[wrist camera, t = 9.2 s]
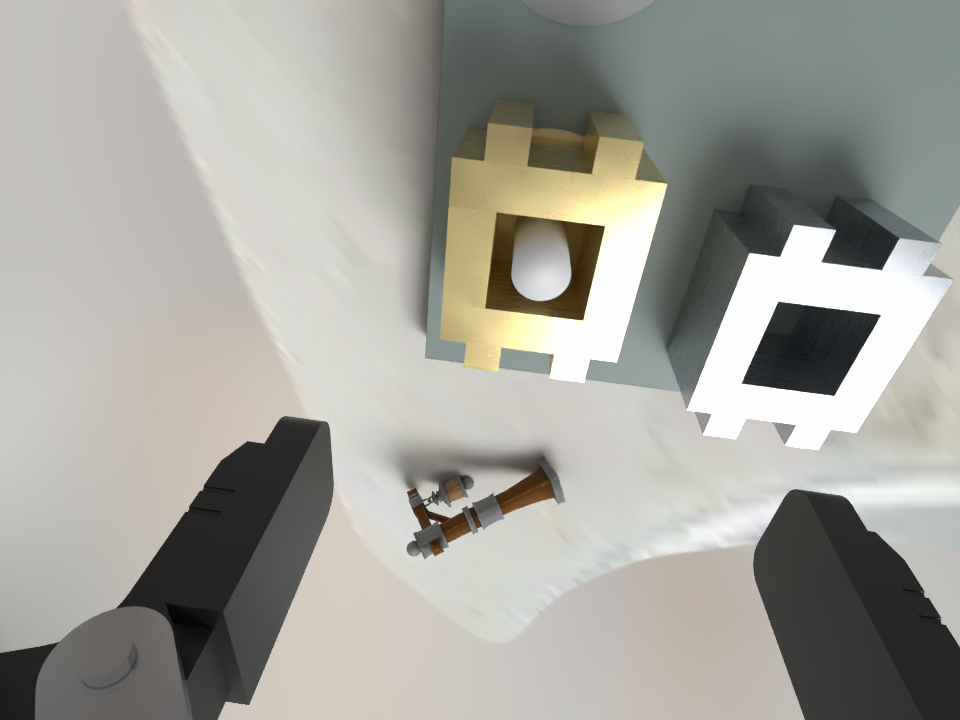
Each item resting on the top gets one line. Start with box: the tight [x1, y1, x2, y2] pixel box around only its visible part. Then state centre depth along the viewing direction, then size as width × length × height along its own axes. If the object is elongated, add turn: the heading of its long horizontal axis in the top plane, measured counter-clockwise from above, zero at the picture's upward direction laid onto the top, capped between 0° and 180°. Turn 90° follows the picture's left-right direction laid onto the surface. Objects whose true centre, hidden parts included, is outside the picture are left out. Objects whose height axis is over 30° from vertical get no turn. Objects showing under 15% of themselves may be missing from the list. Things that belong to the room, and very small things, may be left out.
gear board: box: [425, 0, 960, 392], centre depth 17 cm, size 18×21×6 cm
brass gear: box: [440, 99, 667, 383], centre depth 19 cm, size 6×8×4 cm
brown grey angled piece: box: [407, 457, 566, 559], centre depth 29 cm, size 2×8×5 cm, turn 105°
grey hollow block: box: [666, 184, 953, 450], centre depth 20 cm, size 6×8×4 cm
